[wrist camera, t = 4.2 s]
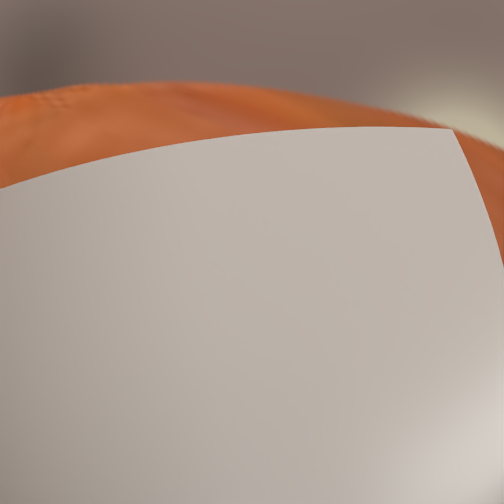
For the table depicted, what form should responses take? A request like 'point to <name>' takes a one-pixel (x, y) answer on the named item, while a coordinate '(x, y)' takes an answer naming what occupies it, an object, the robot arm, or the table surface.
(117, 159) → the block
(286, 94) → the table surface
